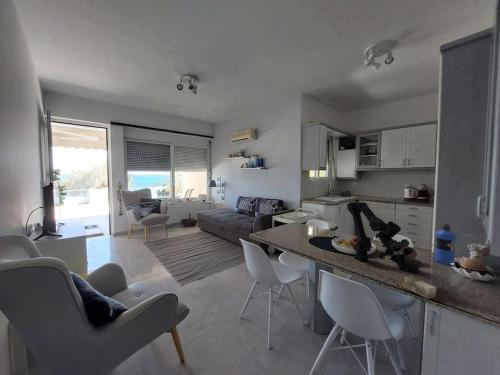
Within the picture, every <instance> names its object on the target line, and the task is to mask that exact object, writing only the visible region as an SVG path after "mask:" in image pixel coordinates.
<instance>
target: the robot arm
mask: <svg viewBox="0 0 500 375" xmlns="http://www.w3.org/2000/svg"><path fill="white" fill-rule="evenodd" d="M346 206H347V209H348V212H349V213H350V214H351V216H352V218H353V222H354V228H355V232H356V236H357V239H356V244H355V245H354V246H353V248H354V250H356V255H355V256H354V257H353V258H354V259H355V260H357V261H359V262H369V261H370V259H368V256H369V255H368V254H367V251H370V249H371V246H372V245H371V244H372V243H373V242H372V241H371V237H370V236H369V237H368V236H367V235H366V231H365V227H364V224H363V219H362V215H361V214H363V215H364V216H365V218H366V219H367V220H368V224H369V225H368V226H369V227H370V229H371V230H372V231H373V232H375V236H374V238H375V239H378V240H380V242H381V243H382V245H381V246H382V248H385V249H384V250H381V251H380V252H379V253H377V254H378V255H377V257H378V258H379V260H385V259H386V257H389V258H388V260H390V261H392V262H394V263H395V264H396V265H397V264H398V265H400V266H401V267H402V268H404V269H403V270H405V271H407V270H406V269H408V267H407V264H406V260H405V256H408V255H409V254H411V253H413V252H414V250H413V249H412V248H413V247H412V248H410V247H411V246H410V243H411V242H410V241H409V240H408V239H406V238H405V239H401V241H397V240H396V239H393V237H395V236H396V235H398V233H400V232H401V230H402V229H401V226H400V225H398V224H397V223H396V222H394V221H392V220H391V221H388V222H387V223H386V222H385V221H384V220H383V219H381V218H379V217H378V216H376V214H375V213H374V211H373V210H372V209H371V208H370V207H369V205H368V203H367V202H365V201H362V202H361V201H360V202H359V201H350V202H349V201H348V203H347V205H346ZM376 232H377V233H376ZM371 242H372V243H371ZM409 246H410V247H409ZM404 247H407V248H404ZM401 249H402V250H401ZM398 265H397V266H398ZM402 268H401V269H402Z"/></svg>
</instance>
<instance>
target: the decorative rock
mask: <svg viewBox="0 0 500 375" xmlns="http://www.w3.org/2000/svg"><path fill="white" fill-rule="evenodd" d="M408 246H409V247H410V248H412V249H413V250H414V252H413V253H411V254H409V255H408V256H405V257H407V258H408V259H411V260H414V259H416V257H417V255H418V253H417V250H416V249H415V248H414V247H412V246H410V245H408ZM404 248H407V247H404ZM401 250H402V249H401Z"/></svg>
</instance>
